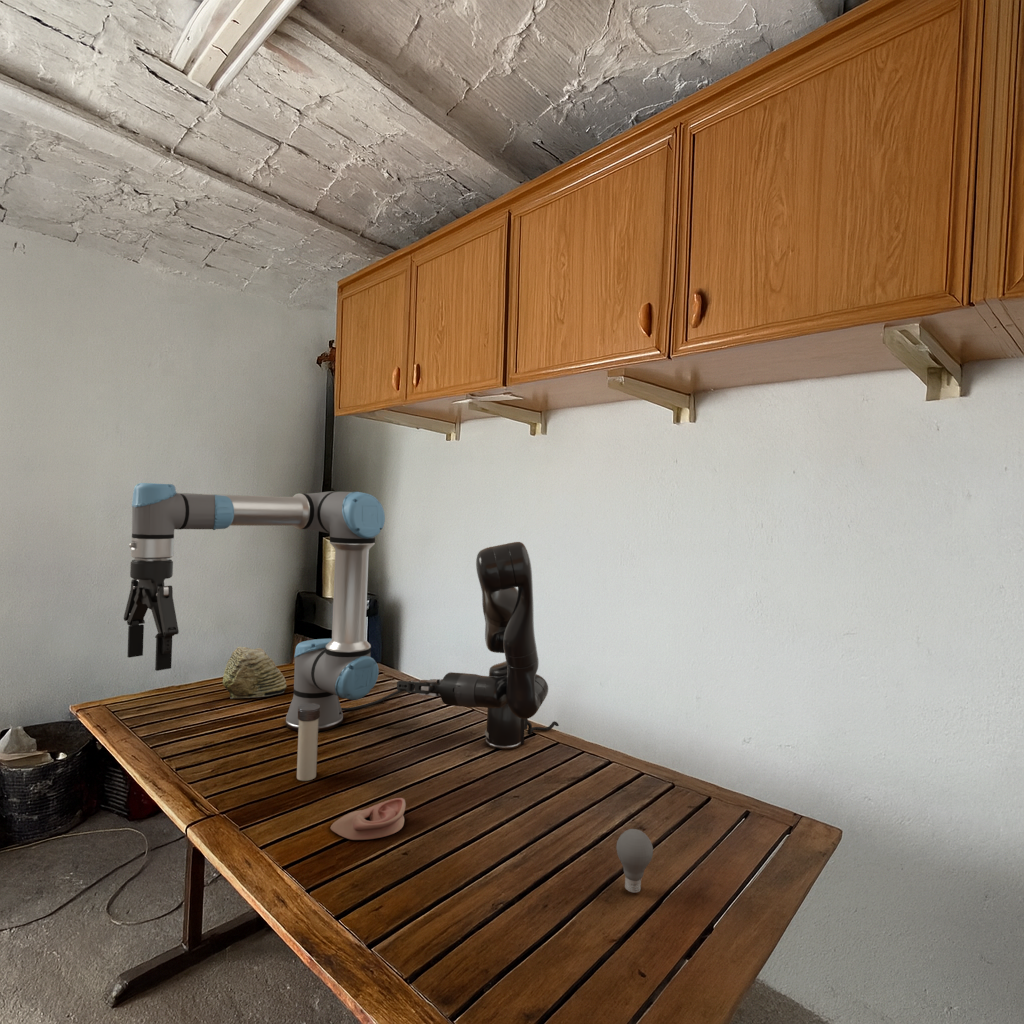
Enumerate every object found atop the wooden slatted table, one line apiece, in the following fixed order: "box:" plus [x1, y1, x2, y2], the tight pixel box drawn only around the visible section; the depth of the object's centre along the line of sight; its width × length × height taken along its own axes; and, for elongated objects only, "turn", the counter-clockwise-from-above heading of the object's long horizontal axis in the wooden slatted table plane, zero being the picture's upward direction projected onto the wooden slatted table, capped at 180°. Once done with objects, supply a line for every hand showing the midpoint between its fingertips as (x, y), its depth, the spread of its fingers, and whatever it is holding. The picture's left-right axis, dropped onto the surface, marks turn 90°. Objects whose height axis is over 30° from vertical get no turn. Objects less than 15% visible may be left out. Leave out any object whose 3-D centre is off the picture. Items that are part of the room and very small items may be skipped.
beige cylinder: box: [296, 718, 319, 782], centre depth 143 cm, size 4×4×16 cm
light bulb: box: [615, 828, 654, 894], centre depth 106 cm, size 6×6×10 cm
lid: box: [298, 703, 320, 721], centre depth 143 cm, size 5×5×2 cm
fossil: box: [222, 646, 288, 699], centre depth 198 cm, size 9×18×15 cm, turn 132°
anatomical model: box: [330, 797, 407, 841], centre depth 123 cm, size 13×4×12 cm
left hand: (148, 662), depth 129 cm, fingers open, 13 cm apart
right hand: (408, 685), depth 155 cm, fingers open, 8 cm apart
